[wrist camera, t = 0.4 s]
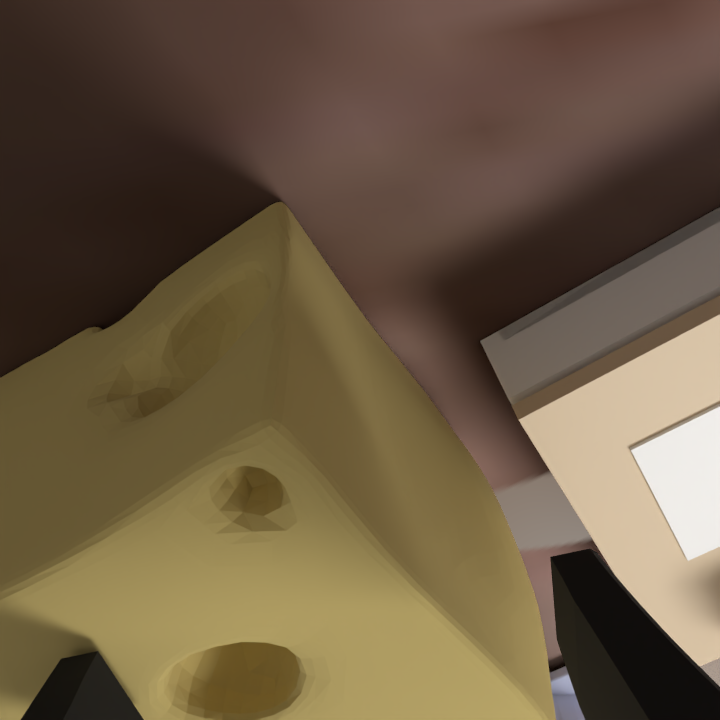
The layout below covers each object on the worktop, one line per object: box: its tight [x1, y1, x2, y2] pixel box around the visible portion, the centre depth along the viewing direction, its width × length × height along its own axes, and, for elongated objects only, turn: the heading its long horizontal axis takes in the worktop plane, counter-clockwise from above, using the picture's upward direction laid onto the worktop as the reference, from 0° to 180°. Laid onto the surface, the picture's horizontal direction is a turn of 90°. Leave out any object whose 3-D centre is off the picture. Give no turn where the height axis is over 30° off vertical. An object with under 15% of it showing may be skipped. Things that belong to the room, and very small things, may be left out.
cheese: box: [0, 202, 556, 720], centre depth 16 cm, size 10×11×10 cm
